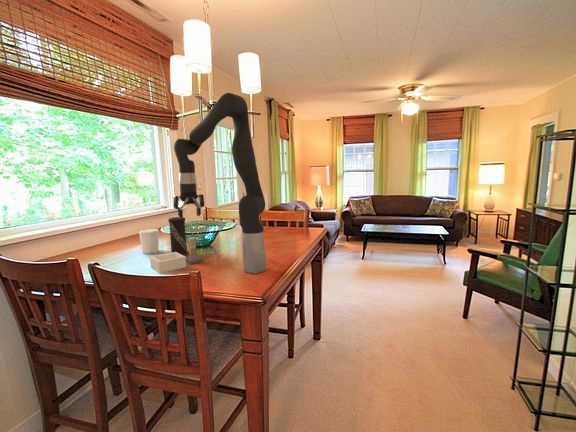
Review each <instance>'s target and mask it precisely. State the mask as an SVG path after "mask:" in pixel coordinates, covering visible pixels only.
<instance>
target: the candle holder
mask: <svg viewBox="0 0 576 432" xmlns="http://www.w3.org/2000/svg"><path fill="white" fill-rule="evenodd" d="M138 233H139V240H140V246H141V252H142V254H155V253H158V252H159V251H160V250H159V249H160V248H159V247H160V246H159V244H160V243H159V240H160V239H159V229H157V228H149V229H143V230H140V231H138Z"/></svg>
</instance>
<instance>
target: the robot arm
mask: <svg viewBox="0 0 576 432" xmlns="http://www.w3.org/2000/svg"><path fill="white" fill-rule="evenodd" d="M248 111H249V109H248V104H247V101H246V100H245V99H244V97H243V96H240V95H237V94H234V93H231V92H226V93H224V94H222V95H221V96H220V97H219V99H218V100H217V101H216V102H215V104H214V105H213V107H212V108H211V109H210V110H209V112H208V113H207V114H206V116H205V117H204V118H203V119H202V121H201V122H199V123H198V124H197V125H196V126H194V128H193V129H192V130H191V131H190V132H189V134H188V139H186V138H177V139H176V140H175V142H174V144H173V151H174V154H175V158H176V161H177V163H178V170H179V171H178V173H179V175H178V176H179V177H178V179H179V181H178V183H179V195H173V201H172V202H173V209H175V210H177V215H178V216H177V217H180V218H183V217H184V215H183V214H184V212H183V209H184V207H185V206H186V205H194V206H195V207H196V209H195V210H196V216H197V217H200V216H201V214H202V210H201V209H202V208H204V207H205V198H204V194H203V193H202V194H201V193H200V194H198V192H197V191H198V190H197V187H198V186H197V176H196V169H195V168H196V164H195V162H194V160H191V159H190V158H189V156H192V155H195V154H196V153H197V152H199V150H200V148H201V146H202V144H204V143H205V142H206V141H207V140H208V139H210V137H212V135H213V134H214V132H215V130H216V127H217V126H218V124H219V123H220V122H221V121H222V120H224V119H226V118H227V117H228V118H231V119H232V123H233V128H234V134H233V136H234V137H233V140H232V143H231V144H232V145H231V155H232V160H233V164H234V167H235V169H236V171H237V173H238V175H239V177H240V178H241V180H242V183H243V185H244V189H245V195H243V196H242V197H241V198H240V200H239V202H238V217H239V225H240V227H241V232H242V233H241V234H242V235H241V236H242V237H241V238H242V257H243V258H242V261H243V272H245V273H248V274H253V275H254V274H255V275H256V274H259V273H262V272H266V271H267V255H266V249H265V236H264V233H265V231H264V224H262V223H261V221H260V215H261V214H262V213H264V211H265V209H266V200H265V196H264V192H263V189H262V186H261V183H260V178H259V171H258V168H257V162H256V161H257V160H256V156H255V150H254V145H253V141H252V135H251V130H250V120H249V112H248ZM179 200H180V202H179ZM198 200H199V201H198Z"/></svg>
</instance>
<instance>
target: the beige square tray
mask: <svg viewBox="0 0 576 432" xmlns="http://www.w3.org/2000/svg"><path fill="white" fill-rule="evenodd" d="M186 257H187V256H185V255H181V254H179V253H177V252H172V253H171V252H169V253H168V252H167V253H163V254H157V255H151V256H149V260H150V261H149V262H150V268H151V269H153V270H155V271H156V272H158V273H159V274H162V273H165V272H166V273H167V272H171V271H175V270H179V269H184V268H187V263H186Z"/></svg>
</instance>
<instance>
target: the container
mask: <svg viewBox="0 0 576 432" xmlns="http://www.w3.org/2000/svg"><path fill="white" fill-rule="evenodd" d="M167 221H168V224H169V236H170V237H169V238H170V251H171V252H170V253H172V252H177V253H179V254H181V255H183V256H185V255H187V254H188V247H187V246H188V245H187V244H188V242H187V235H186V234H187V233H186V223H185V221H186V218H185V217H184V216H183V218H180V217H179V216H175V217H169V218H168V219H167Z"/></svg>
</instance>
